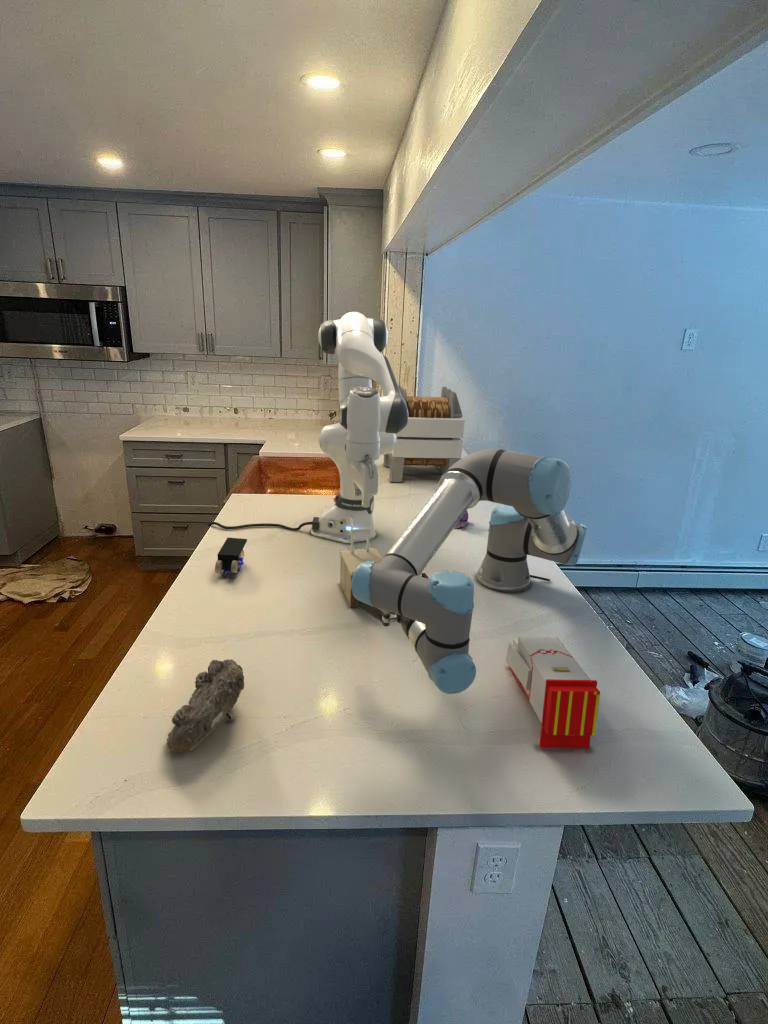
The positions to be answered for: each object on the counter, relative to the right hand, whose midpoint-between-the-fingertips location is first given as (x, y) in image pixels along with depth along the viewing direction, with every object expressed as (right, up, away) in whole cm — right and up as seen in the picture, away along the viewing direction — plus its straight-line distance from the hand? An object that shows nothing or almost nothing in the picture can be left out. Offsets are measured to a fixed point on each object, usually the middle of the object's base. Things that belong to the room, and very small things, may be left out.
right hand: (394, 580), depth 126 cm
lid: (-8, +1, +28) cm, 29 cm away
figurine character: (-47, -2, +41) cm, 63 cm away
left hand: (-8, +18, +27) cm, 33 cm away
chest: (-8, -7, +31) cm, 33 cm away
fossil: (-35, -24, -18) cm, 46 cm away
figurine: (+25, +11, +85) cm, 89 cm away
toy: (+30, -24, -9) cm, 40 cm away
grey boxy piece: (+15, +34, +149) cm, 153 cm away
